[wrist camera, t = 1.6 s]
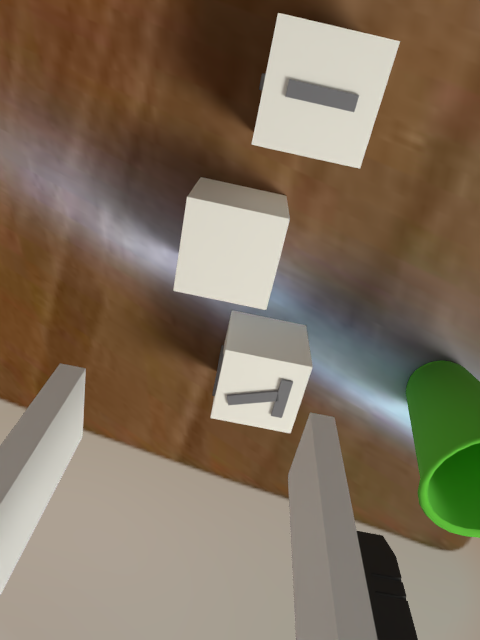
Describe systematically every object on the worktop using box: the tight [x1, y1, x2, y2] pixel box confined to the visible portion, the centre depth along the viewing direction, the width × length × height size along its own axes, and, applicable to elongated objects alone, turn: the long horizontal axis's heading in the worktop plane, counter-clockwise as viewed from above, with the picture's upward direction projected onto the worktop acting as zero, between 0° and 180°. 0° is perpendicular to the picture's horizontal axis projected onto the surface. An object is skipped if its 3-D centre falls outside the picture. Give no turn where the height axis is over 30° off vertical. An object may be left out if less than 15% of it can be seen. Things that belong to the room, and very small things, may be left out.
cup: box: [406, 361, 480, 538], centre depth 33 cm, size 9×9×11 cm
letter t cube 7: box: [211, 310, 312, 433], centre depth 35 cm, size 6×6×6 cm
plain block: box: [173, 177, 290, 310], centre depth 30 cm, size 6×6×6 cm
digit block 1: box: [252, 13, 400, 168], centre depth 26 cm, size 6×6×6 cm
